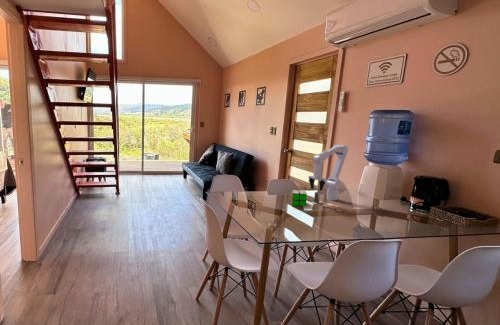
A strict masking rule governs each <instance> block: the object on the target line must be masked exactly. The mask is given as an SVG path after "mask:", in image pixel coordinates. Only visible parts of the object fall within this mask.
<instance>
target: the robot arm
mask: <svg viewBox="0 0 500 325" xmlns="http://www.w3.org/2000/svg"><path fill="white" fill-rule="evenodd" d="M348 152H349V148H348V145H346V144H334V145H333V146H332V147H331V148H329V149H328V150H323V151H322V152H321V153H319V154H316V155H314V156H313V157H312V162H313V175H308V182H309V186H310V189H312V190H313V189H314V187H315V181H319V182H318V184H319V191H320V192H321V191H323V188H324V186H325V188H326V190H327V191H326V200H328V201H336V200H341V199H339V198H340V190H339V188H340V184H341V180H340V179H339V177H340V174H341V173H342V172H341V171H342V170H343V166H344V163H345V160H346V157H347V155H348ZM333 154H335V156H337V160H336V162H335V165H334V168H333V170H332V173H331V176H329V177H327V178H324V177H322V174H323V173H322V170H323V163H324V162H325V161H326V160H327V159H328V158H330V156H331V155H333Z"/></svg>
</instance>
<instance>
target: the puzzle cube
mask: <svg viewBox="0 0 500 325" xmlns="http://www.w3.org/2000/svg"><path fill="white" fill-rule="evenodd" d="M306 206H307V191H306V190H295V189H294V190H291V207H292V208H299V207H306Z"/></svg>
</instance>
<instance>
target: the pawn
mask: <svg viewBox="0 0 500 325" xmlns="http://www.w3.org/2000/svg"><path fill="white" fill-rule="evenodd" d="M313 197H314V199H313V201H312V202H314V203H319V201H320V200H319V192H318V191H315V192H314V196H313ZM314 203H313V204H314Z"/></svg>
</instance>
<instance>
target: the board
mask: <svg viewBox="0 0 500 325" xmlns="http://www.w3.org/2000/svg"><path fill="white" fill-rule="evenodd" d="M309 203H310V204H315V205H318V206H323V207H326V208H330V209H334V211H336V212H343V211H345V210H348V207H344V206H342V205H338V204H332V203H329V202H325V201H321V200H319V203H314V202H313V201H310V202H309Z"/></svg>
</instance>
